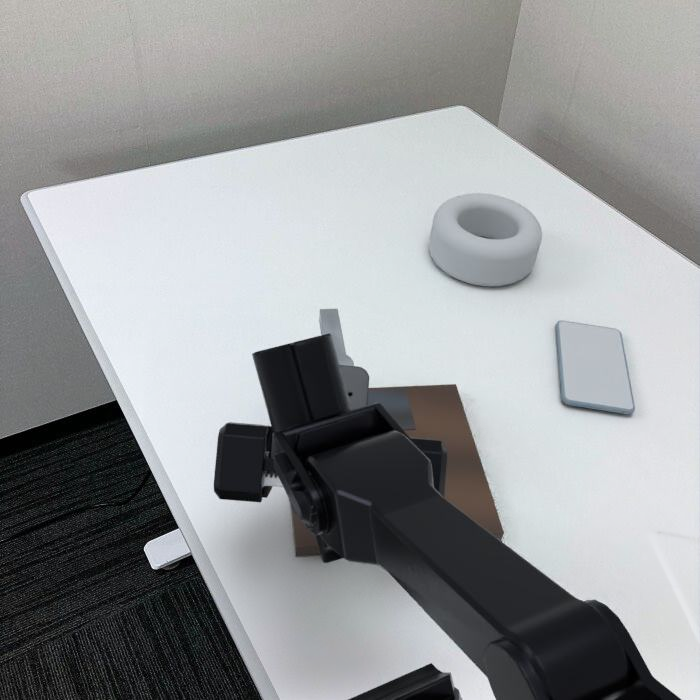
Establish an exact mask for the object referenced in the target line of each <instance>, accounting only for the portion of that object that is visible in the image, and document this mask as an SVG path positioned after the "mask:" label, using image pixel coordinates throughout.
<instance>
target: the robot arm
mask: <svg viewBox="0 0 700 700" xmlns="http://www.w3.org/2000/svg"><path fill="white" fill-rule="evenodd" d="M251 356H252V360H253V364H254V368H255V371H256V375H257V378H258V383H259V386H260V389H261V393H262V396H263V397H262V398H263V400H264V404H265V408H266V412H267V415H268V418H269V423H270V425H265V424H259V423H258V424H257V423H246V422H245V423H244V422H233V421H229V422H227V423H225V424H224V425H223V426H222V427H220V428H219V431H218V435H217V442H216V454H215V465H214V477H213V492H214V493H215V495H216V496H217V498H218V499H219V500H223V501H225V500H226V501H236V502H250V503H262V501H263V499H264V498H266V499H267V498H268V497H269V495H270V493H271V491H272V489H273V487H276V488H277V487H278V488H283V489H284V491H285V494H286V495H287V497H288V501H289V504H290V503H291V506H292V508H293V510H294V511H295V514H297V516H298V517H299V519H300V520H301V521H302V522H303V523H305V526H306V528H307V529H309V530H310V531H311V532H312V534H314V535H315V537H316V541H317V545H318V548H319V552H320V555H319V556H320V559H321V562H322V563H323V564H329V563H332V562H336V561H339V560H343V559H344V560H346V561H347V562H351V563H359V564H366V565H373V566H380V567H381V568H382V569H384V570H385V571H386V572H387V573H388V574H389V575H390V576H391V577H392V578H393V580H395V582H396V583H397V584H399V585H400V587H402V589H403V590H404V591H405V592H406V593H407V594H408V595H409V596H410V597H411V598H412V599H413V600H414V601H415V603H416V604H417V605H418V606H419V607H420V608H421V609H422V610H423V611H424V612H425V614H427V615H428V616H429V618H430V619H432V621H434V623H435V624H436V625H437V626H438V627H439V628H440V629H441V630H442V632H443V633H445V634H446V635H447V636H448V638H449V639H450V640H451V641H452V642H453V643H454V644H455V645H456V646H457V647H458V648H459V649H460V650H461V651H462V652H463V653H464V655H465V656H466V657H467V658H468V659H469V660H470V661H471V662H472V663H473V664H474V665H475V666H476V667H477V668H478V669H479V671H481V673H483V674H484V676H485V677H486V678H487V681H488V683H489V686H490V689H491V691H492V694H493V697H494V699H495V700H682V698H680V697H679V696H678V695H677V694H675V693H674V692H673V691H671V690H670V689H669V688H667V686H665V684H662V683H661V682H660V681H659V680H658V679H656V678H655V676H653V674H652V673H651V671H650V669H649V667H648V665H647V663H646V661H645V660H644V658H643V656H642V654H641V652H640V651H639V649H638V647H637V645H636V643H635V641H634V640H633V638H632V636H631V634H630V632H629V631H628V629H627V627H626V625H624V623H623V621H622V620H621V619H620V618H619V616H618V615H617V614H616V613H615V612H614V611H613V610H612V609H611V608H610V607H609V606H608V605H607V604H605V603H603V602H601V601H598V600H597V599H587V600H582V599H579V598H578V597H575V596H574V595H573V594H572V593H570V592H569V591H567V590H566V589H565V588H564V587H562V586H561V585H559V584H558V582H556V581H554V580H553V579H552V578H550V577H549V576H548V575H547V574H545V573H544V572H543V571H541V570H540V569H538V568H537V567H536V566H535V565H533V564H532V563H530V562H529V561H528V560H527V559H526V558H524V557H523V556H522V555H520V554H519V553H518V552H516V551H515V550H514V549H512V548H511V547H510V546H509V545H507V544H506V543H504V542H503V540H501V541H500V540H499V539H498V538H496V537H495V536H494V535H492V534H491V533H490V532H489V531H487V530H486V529H485V528H483V527H482V526H481V525H479V524H478V523H477V522H475V521H474V520H473V519H471V518H470V517H469V516H467V515H466V514H465V513H464V512H462V511H461V510H460V509H458V508H457V507H456V506H454V505H453V504H452V503H450V502H449V501H448V500H446V499H445V498H444V494H445V481H446V468H447V447H446V446H445V445H444V444H443V443H442V441H440V440H438V439H428V438H416V437H409V436H408V435H407V434H406V433H405V431H404V430H403V429H402V428H401V427H400V426H399V425H398V423H397V422H396V421H395V420H394V419H393V418H392V416H391V415H390V414H389V413H388V412H387V411H386V409H385V408H384V407H383V406H382V405H381V404H380V403H379V402H378V403H375V404H371V405H368V390H369V388H370V375H369V373H368V371H367V370H366V369H365V368H363V367H362V366H355V365H354V366H346V365H339V361H338V358H337V354H336V350H335V347H334V343H333V340H332V336H331V334H330V333H329V334H325V335H321V334H320V335H316V336H313V337H308V338H305V339H301V340H297V341H293V342H290V343H286V344H281V345H278V346H274V347H270V348H266V349H261V350H258V351H255V352H253V353H251ZM367 405H368V406H367ZM291 506H290V507H291ZM347 700H463V697H462V696H461V692H460V689H458V688H457V687H456V686H455V683H454V680H453V675H452V673H451V672H444V671H441V670H439V669H438V668H437V667H436V665H435V664H433V663H432V662H431V663H428V664H425V665H424V666H422V667H421V666H420V667H419V668H417V669H414V670H412V671H410V672H407V673H405V674H403V675H401V676H398V677H396V678H394V679H392V680H389V681H387V682H385V683H383V684H380V685H377V686H376V687H373V688H371V689H369V690H367V691H364V692H362V693H360V694H357V695H355V696H353V697H350V698H348V699H347Z"/></svg>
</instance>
